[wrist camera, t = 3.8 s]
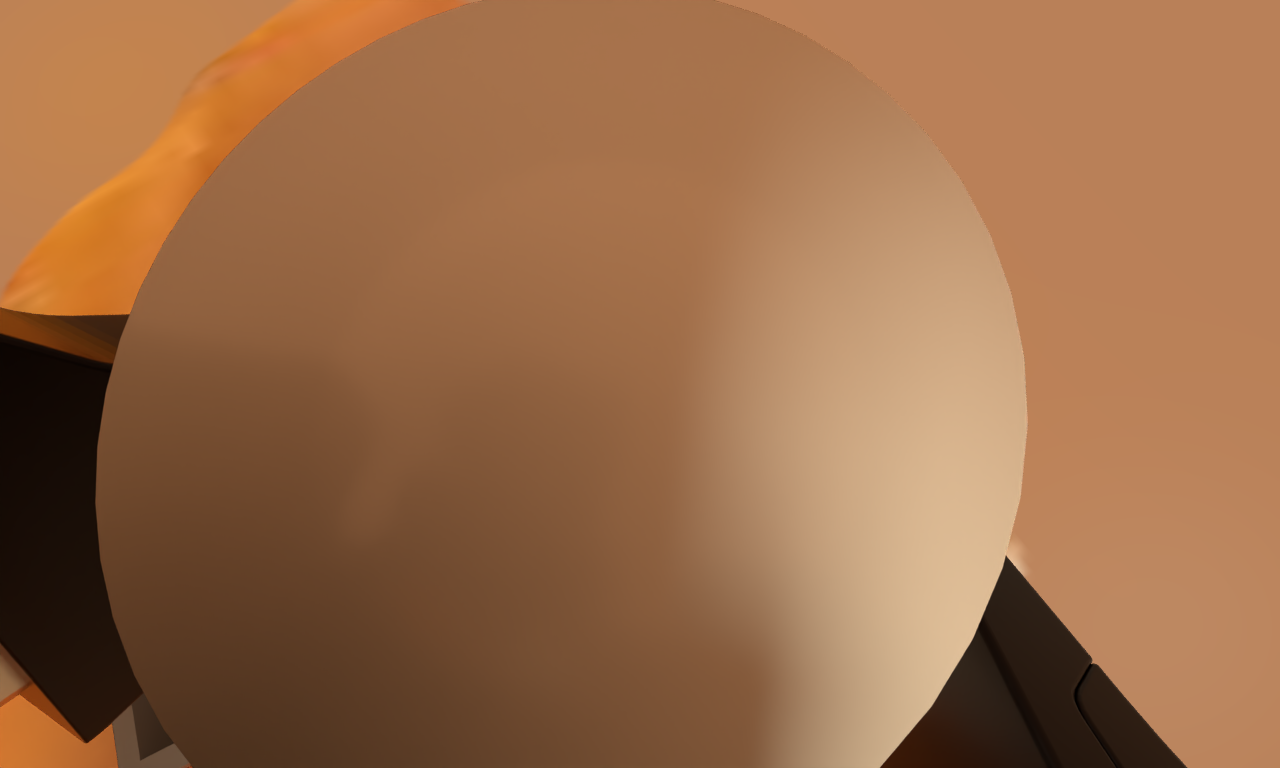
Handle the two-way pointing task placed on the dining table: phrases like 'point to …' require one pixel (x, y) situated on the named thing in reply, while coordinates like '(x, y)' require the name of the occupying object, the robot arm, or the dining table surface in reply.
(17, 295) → the dining table surface
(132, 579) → the beige tapered rounded piece
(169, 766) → the tray
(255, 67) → the dining table surface
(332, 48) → the dining table surface
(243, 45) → the dining table surface
